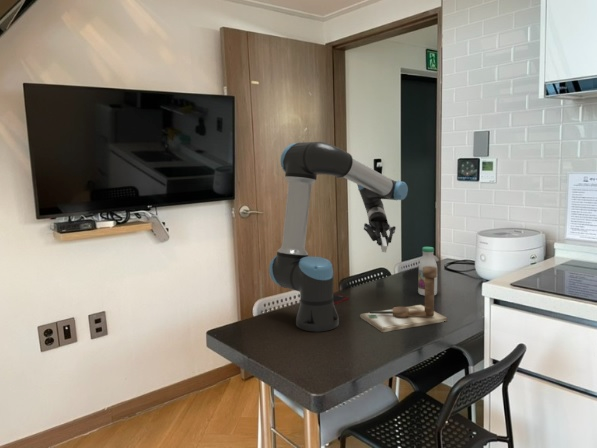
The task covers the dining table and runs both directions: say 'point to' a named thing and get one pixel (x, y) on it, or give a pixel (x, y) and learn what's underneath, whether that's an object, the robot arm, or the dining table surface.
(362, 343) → the dining table surface
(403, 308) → the wooden l-shaped rod
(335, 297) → the cell phone
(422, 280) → the milk bottle
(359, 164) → the robot arm
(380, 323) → the beige flat rectangular board
